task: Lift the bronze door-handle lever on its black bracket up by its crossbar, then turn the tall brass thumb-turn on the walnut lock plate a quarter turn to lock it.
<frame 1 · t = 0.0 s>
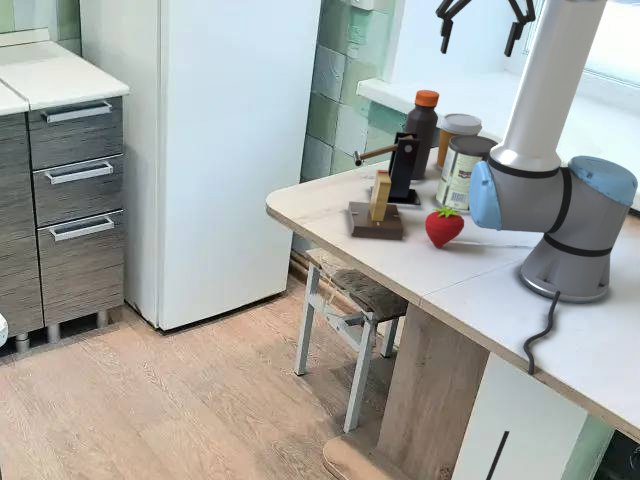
hand: (474, 54, 175), 28 cm above the table, tool pointing down, fingers open, 13 cm apart
bracket: (393, 199, 180), on the table
disposable coffee cup: (449, 168, 196), on the table
lock plate: (373, 225, 170), on the table
strawberry: (437, 248, 162), on the table
thumb turn: (380, 195, 166), point 7 cm above the table, hinge at 0.0°
coffee can: (457, 204, 179), on the table
door handle: (383, 150, 174), point 11 cm above the table, hinge at -22.0°
bottle: (408, 179, 190), on the table
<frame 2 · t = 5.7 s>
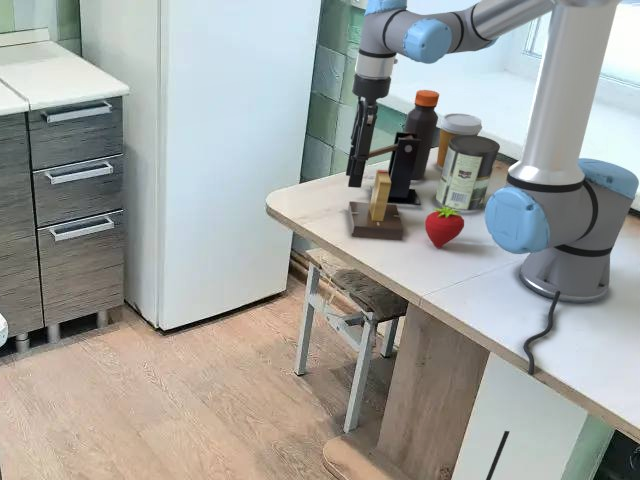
hand: (353, 180, 179), 4 cm above the table, tool pointing down, fingers closed on door handle, 5 cm apart
door handle: (383, 150, 174), point 11 cm above the table, hinge at -22.0°, touching gripper
everything else where it was.
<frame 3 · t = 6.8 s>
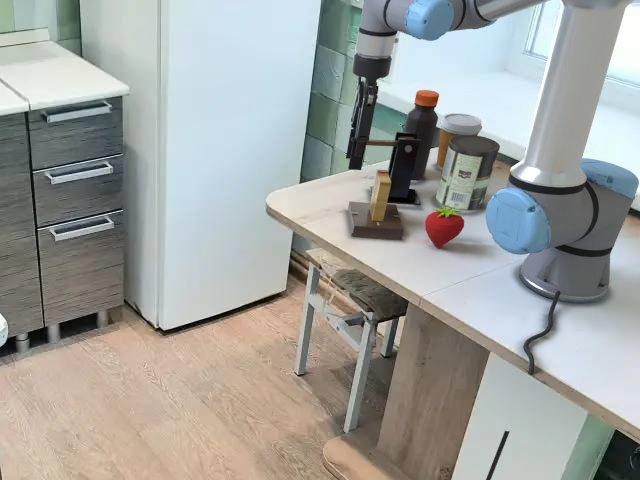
hand: (353, 163, 176), 8 cm above the table, tool pointing down, fingers closed on door handle, 5 cm apart
door handle: (383, 142, 173), point 13 cm above the table, hinge at -1.2°, touching gripper
everything else where it was.
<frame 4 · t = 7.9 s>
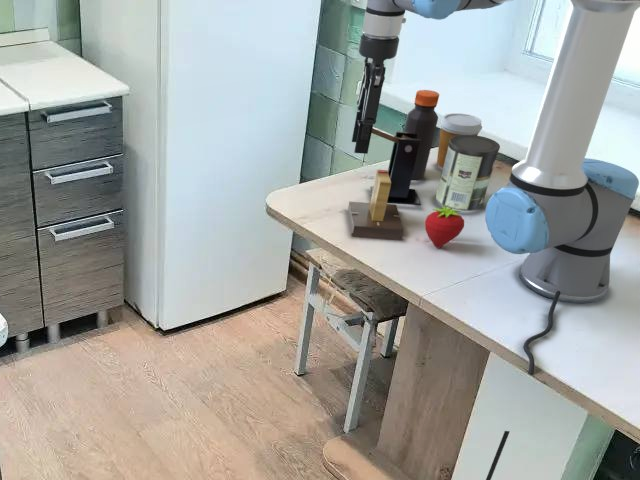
hand: (359, 146, 174), 12 cm above the table, tool pointing down, fingers open, 6 cm apart
door handle: (385, 135, 172), point 15 cm above the table, hinge at 18.3°
everything else where it was.
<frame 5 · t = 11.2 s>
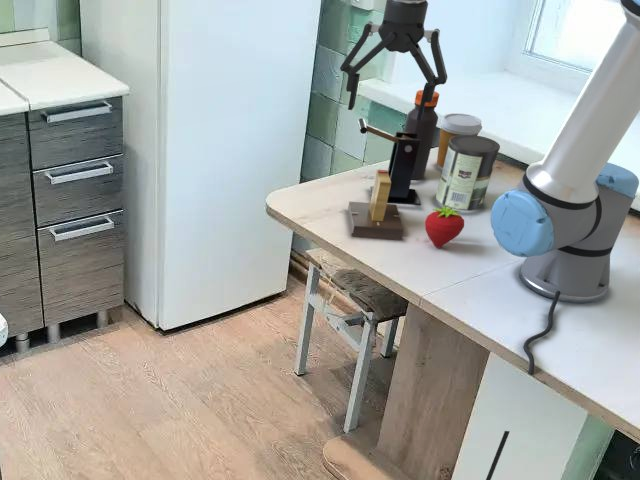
hand: (384, 113, 161), 22 cm above the table, tool pointing down, fingers open, 13 cm apart
nothing on the table moved.
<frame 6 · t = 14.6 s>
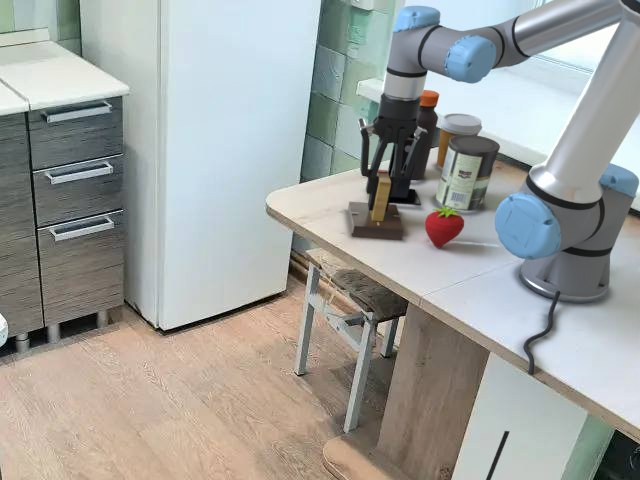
hand: (377, 208, 167), 4 cm above the table, tool pointing down, fingers closed on thumb turn, 2 cm apart
thumb turn: (380, 195, 166), point 7 cm above the table, hinge at 0.0°, touching gripper
everything else where it was.
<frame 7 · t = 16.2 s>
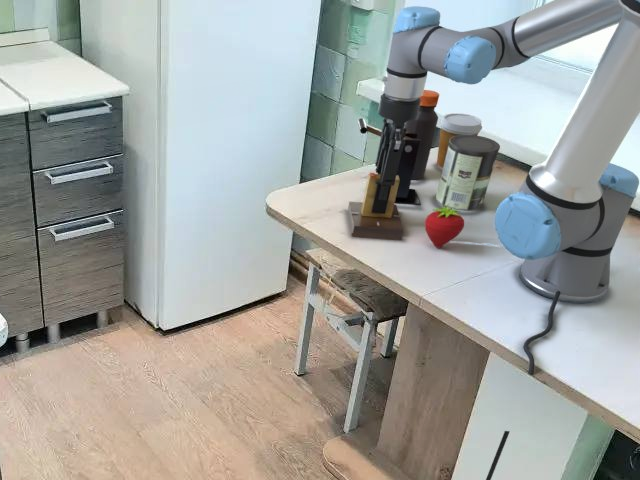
hand: (377, 208, 167), 4 cm above the table, tool pointing down, fingers open, 3 cm apart
thumb turn: (380, 195, 166), point 7 cm above the table, hinge at 89.8°
everything else where it was.
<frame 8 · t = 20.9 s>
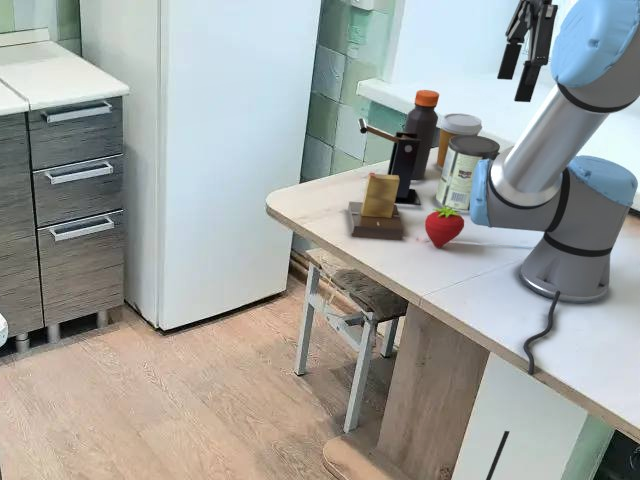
hand: (512, 89, 153), 29 cm above the table, tool pointing down, fingers open, 13 cm apart
nothing on the table moved.
at the end: door handle at +18° (first picture: -22°); thumb turn at +90° (first picture: +0°) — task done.
